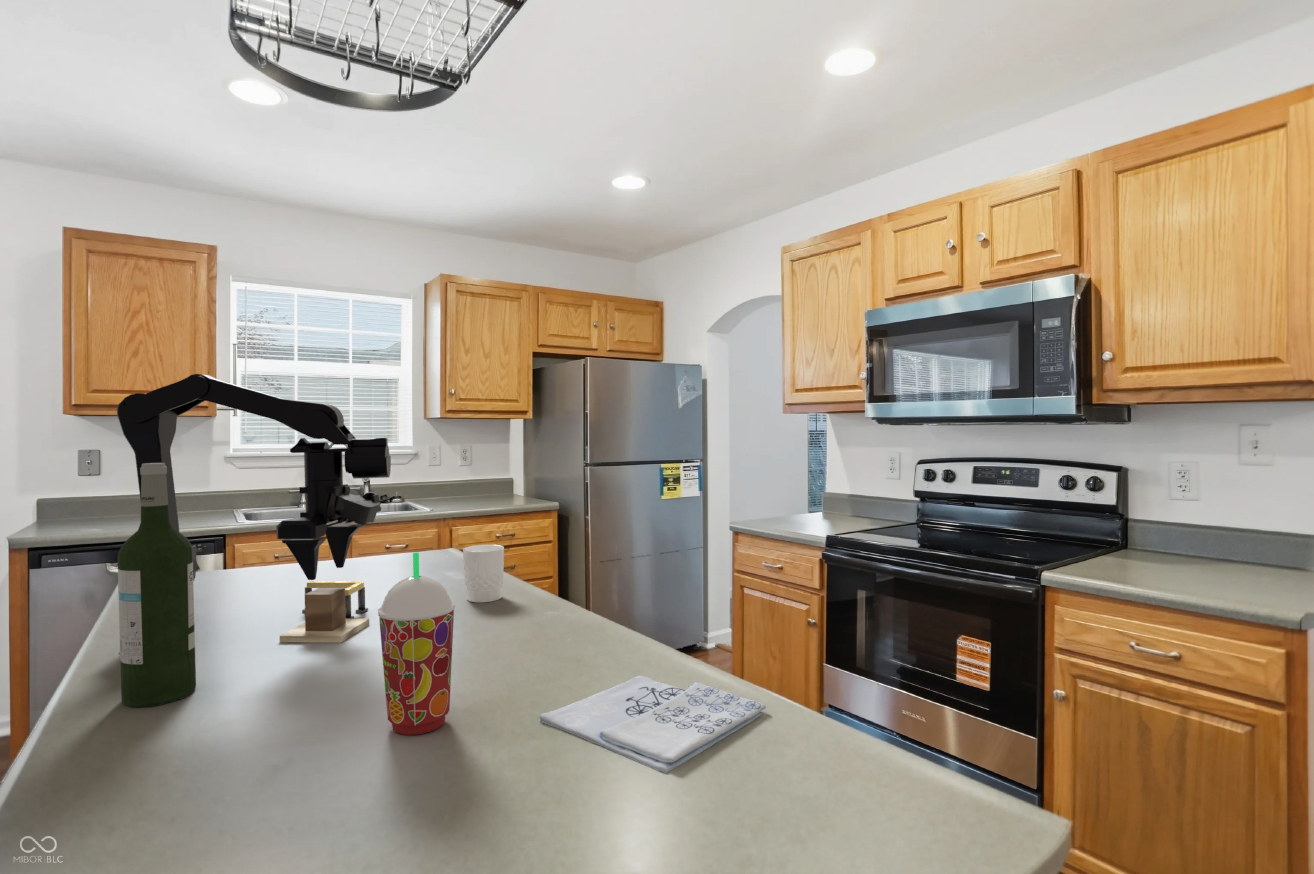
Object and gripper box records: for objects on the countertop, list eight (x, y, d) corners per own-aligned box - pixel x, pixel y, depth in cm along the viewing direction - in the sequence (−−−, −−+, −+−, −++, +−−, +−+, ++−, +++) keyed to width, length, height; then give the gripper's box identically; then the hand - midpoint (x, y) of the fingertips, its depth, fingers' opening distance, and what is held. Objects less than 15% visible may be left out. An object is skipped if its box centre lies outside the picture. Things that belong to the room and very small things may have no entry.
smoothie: (380, 716, 85) (377, 549, 85) (453, 705, 88) (450, 544, 88) (379, 746, 77) (376, 562, 77) (459, 733, 80) (456, 556, 80)
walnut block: (332, 631, 117) (331, 594, 116) (305, 630, 117) (304, 594, 117) (345, 623, 121) (344, 587, 121) (319, 622, 121) (319, 587, 121)
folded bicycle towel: (667, 780, 71) (667, 758, 71) (535, 724, 84) (534, 706, 84) (769, 717, 85) (769, 699, 85) (642, 678, 98) (642, 663, 98)
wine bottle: (210, 687, 95) (205, 461, 94) (154, 710, 87) (147, 465, 87) (164, 681, 97) (158, 461, 96) (105, 704, 90) (98, 465, 89)
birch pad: (341, 642, 114) (341, 636, 114) (279, 642, 114) (279, 635, 114) (369, 624, 124) (369, 618, 124) (312, 624, 124) (312, 618, 124)
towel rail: (349, 621, 126) (349, 590, 125) (285, 621, 126) (284, 590, 126) (368, 610, 133) (367, 581, 133) (306, 610, 133) (306, 581, 133)
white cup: (513, 596, 142) (512, 546, 142) (484, 605, 136) (483, 553, 135) (484, 591, 146) (484, 543, 146) (455, 600, 140) (454, 549, 140)
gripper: (344, 484, 109) (347, 586, 109) (395, 474, 127) (397, 561, 128) (273, 485, 109) (275, 586, 110) (333, 475, 128) (335, 562, 128)
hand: (326, 573), depth 119 cm, fingers open, 9 cm apart
